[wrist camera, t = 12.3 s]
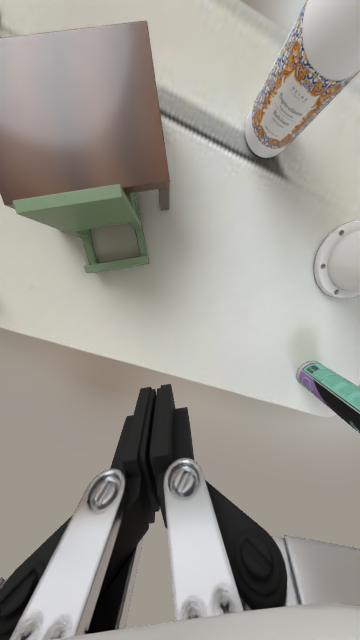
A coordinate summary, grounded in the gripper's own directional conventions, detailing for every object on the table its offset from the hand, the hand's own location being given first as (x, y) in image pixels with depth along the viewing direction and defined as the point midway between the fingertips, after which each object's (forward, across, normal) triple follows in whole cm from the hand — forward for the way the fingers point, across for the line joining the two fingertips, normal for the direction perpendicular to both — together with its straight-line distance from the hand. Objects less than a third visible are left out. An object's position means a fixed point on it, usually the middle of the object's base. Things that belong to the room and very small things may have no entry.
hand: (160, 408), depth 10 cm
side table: (+22, +6, -22) cm, 32 cm away
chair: (+22, +6, -16) cm, 28 cm away
